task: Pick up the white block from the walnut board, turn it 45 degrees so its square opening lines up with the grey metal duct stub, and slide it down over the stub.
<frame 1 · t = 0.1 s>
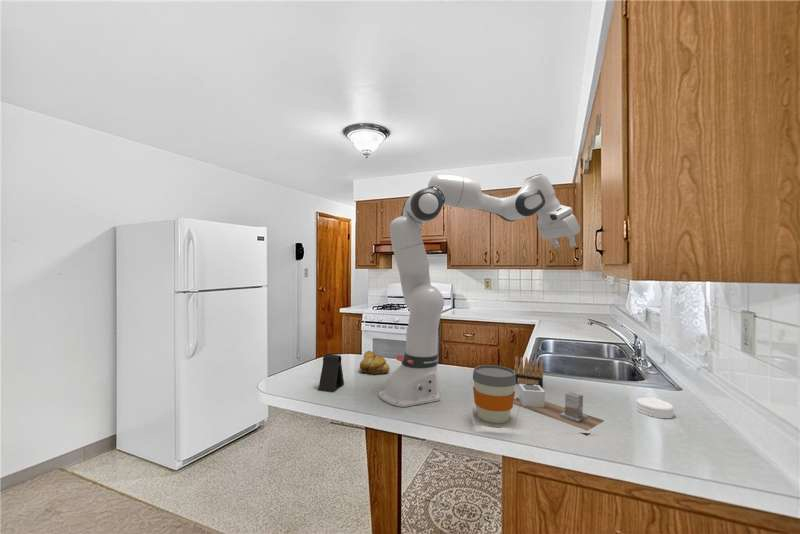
hand: (565, 246, 141), 54 cm above the countertop, tool tilted 30°, fingers open, 8 cm apart
coaster: (654, 413, 120), on the countertop
white block: (531, 403, 121), point 1 cm above the countertop, touching duct board
ammunition clip: (527, 389, 139), on the countertop
duct board: (552, 415, 115), on the countertop
black tent stand: (331, 388, 135), on the countertop
bread roll: (374, 372, 155), on the countertop
reusable coffee cup: (492, 421, 110), on the countertop
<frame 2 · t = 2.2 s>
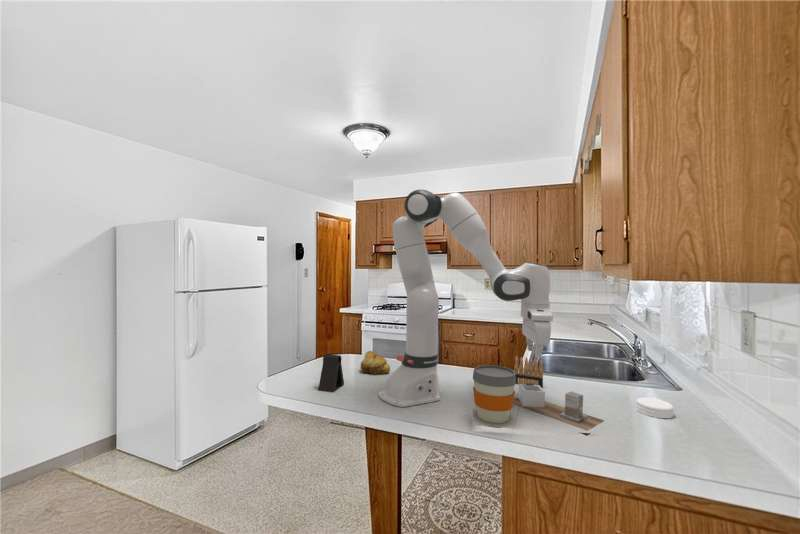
hand: (534, 354, 121), 18 cm above the countertop, tool pointing down, fingers open, 8 cm apart
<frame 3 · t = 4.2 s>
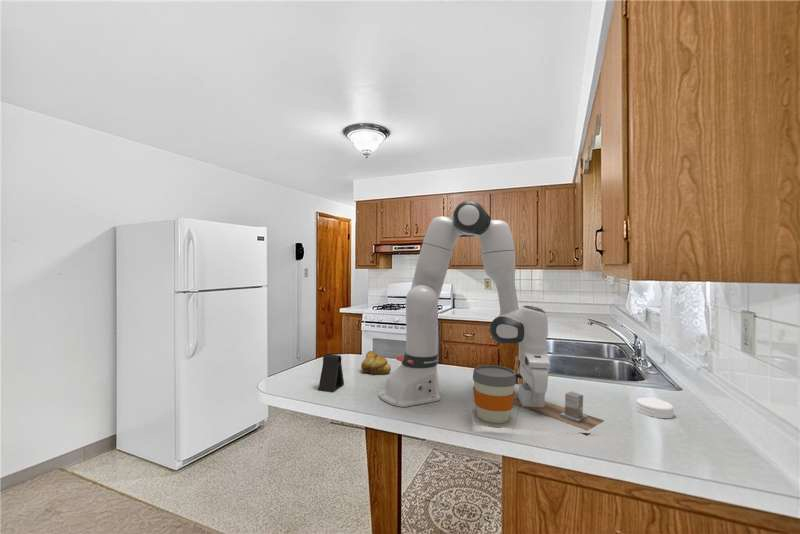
hand: (531, 397, 121), 3 cm above the countertop, tool pointing down, fingers closed on white block, 7 cm apart
white block: (531, 403, 121), point 1 cm above the countertop, touching duct board, gripper
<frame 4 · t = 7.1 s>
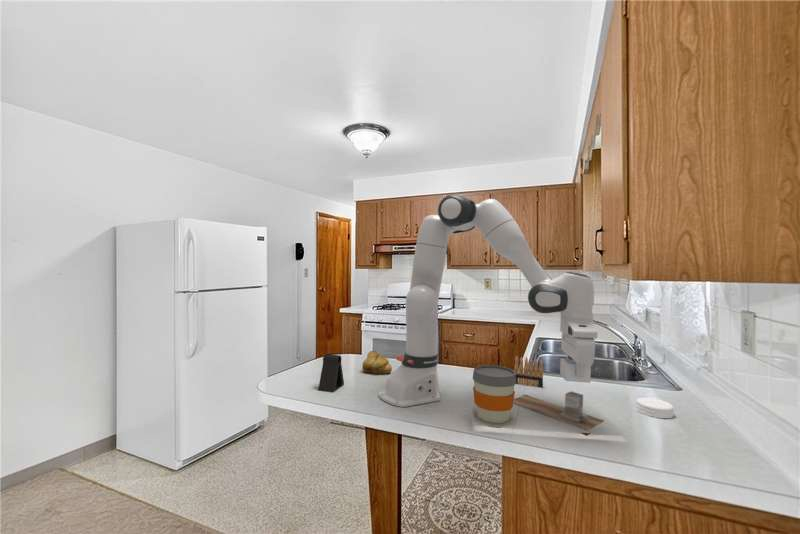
hand: (575, 372, 110), 15 cm above the countertop, tool pointing down, fingers closed on white block, 7 cm apart
white block: (574, 378, 110), point 13 cm above the countertop, touching gripper
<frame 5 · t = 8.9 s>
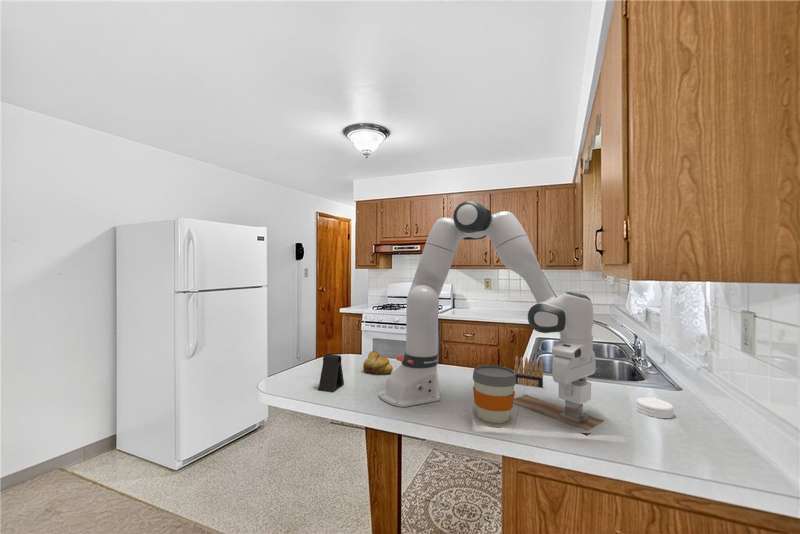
hand: (574, 393, 110), 9 cm above the countertop, tool pointing down, fingers closed on white block, 7 cm apart
white block: (574, 398, 110), point 7 cm above the countertop, touching gripper
when the fingers open (5 cm above the countertop, at t = 10.2 s): white block drops 1 cm, resting on duct board.
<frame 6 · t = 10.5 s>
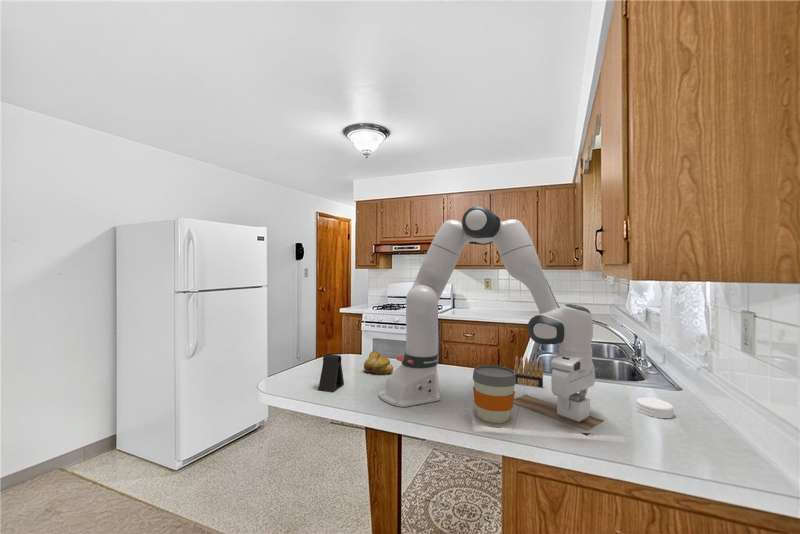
hand: (573, 405, 110), 5 cm above the countertop, tool pointing down, fingers open, 8 cm apart
white block: (573, 414, 110), point 2 cm above the countertop, touching duct board
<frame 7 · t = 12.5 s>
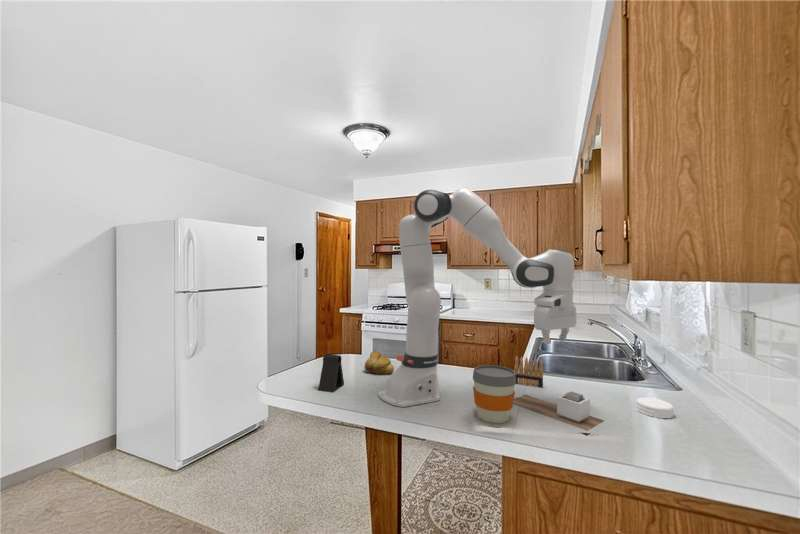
hand: (554, 342, 119), 22 cm above the countertop, tool pointing down, fingers open, 8 cm apart
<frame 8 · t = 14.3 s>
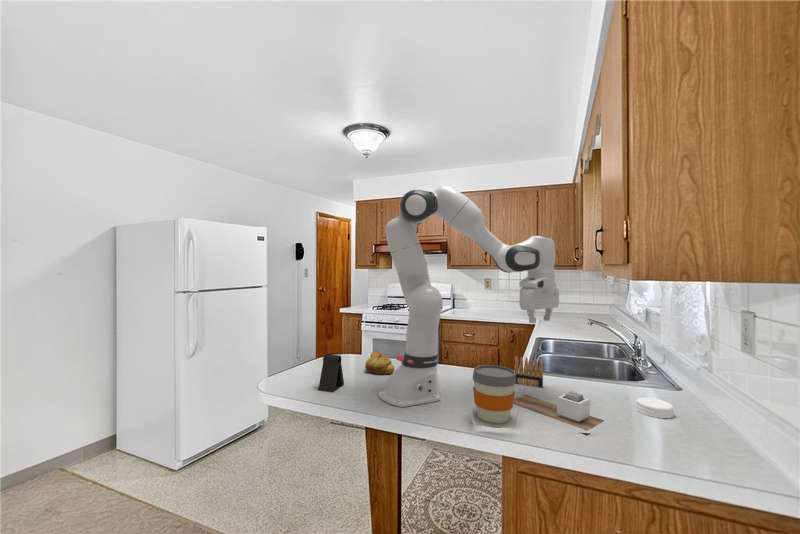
hand: (539, 321, 128), 27 cm above the countertop, tool pointing down, fingers open, 8 cm apart
at the end: white block 0.1 cm from the target spot on the duct board, point 2.3 cm above the duct board's base; white block tilted 0°; the gripper is holding nothing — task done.
